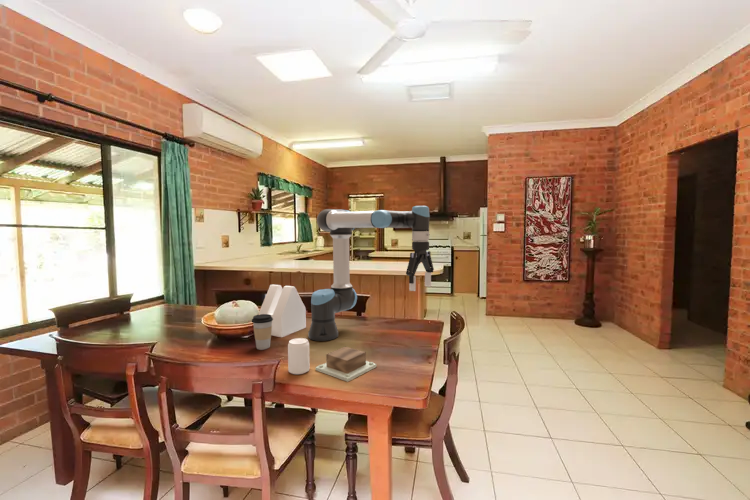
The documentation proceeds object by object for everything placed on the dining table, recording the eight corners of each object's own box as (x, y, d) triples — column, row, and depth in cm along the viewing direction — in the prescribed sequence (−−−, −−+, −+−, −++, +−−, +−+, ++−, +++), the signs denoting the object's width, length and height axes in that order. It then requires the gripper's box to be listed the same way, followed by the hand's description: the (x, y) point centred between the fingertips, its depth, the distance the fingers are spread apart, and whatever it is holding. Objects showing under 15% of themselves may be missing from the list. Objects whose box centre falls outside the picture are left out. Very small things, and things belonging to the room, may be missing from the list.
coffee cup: (277, 345, 165) (276, 314, 164) (265, 352, 156) (264, 319, 155) (261, 343, 168) (260, 313, 167) (247, 350, 159) (246, 317, 158)
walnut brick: (326, 366, 137) (326, 354, 137) (345, 358, 146) (345, 346, 145) (347, 373, 130) (347, 360, 130) (365, 364, 139) (365, 352, 139)
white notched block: (284, 325, 200) (283, 282, 198) (306, 328, 193) (305, 284, 191) (259, 334, 183) (258, 287, 181) (281, 338, 176) (280, 289, 174)
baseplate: (315, 370, 136) (315, 365, 136) (345, 357, 150) (345, 353, 150) (347, 381, 126) (347, 376, 126) (376, 366, 139) (376, 362, 139)
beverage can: (290, 367, 139) (289, 337, 139) (310, 366, 140) (310, 337, 139) (286, 375, 131) (286, 344, 131) (308, 375, 132) (308, 344, 131)
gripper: (413, 242, 142) (412, 293, 144) (441, 240, 162) (440, 285, 163) (397, 241, 147) (397, 291, 148) (427, 240, 167) (426, 284, 168)
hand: (420, 288), depth 156 cm, fingers open, 13 cm apart
